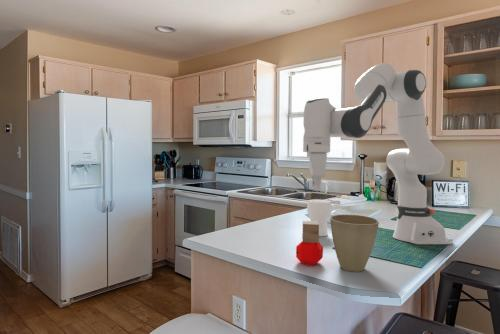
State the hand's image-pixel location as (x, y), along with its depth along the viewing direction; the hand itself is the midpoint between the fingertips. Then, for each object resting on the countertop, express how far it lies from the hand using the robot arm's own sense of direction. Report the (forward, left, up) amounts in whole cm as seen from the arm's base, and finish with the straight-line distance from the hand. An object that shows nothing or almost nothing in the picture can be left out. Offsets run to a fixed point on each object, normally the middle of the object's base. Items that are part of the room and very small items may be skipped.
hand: (316, 188), depth 117 cm
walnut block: (+2, +2, -17) cm, 17 cm away
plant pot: (-12, +5, -25) cm, 28 cm away
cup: (-4, -38, -25) cm, 45 cm away
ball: (+2, +2, -25) cm, 25 cm away
